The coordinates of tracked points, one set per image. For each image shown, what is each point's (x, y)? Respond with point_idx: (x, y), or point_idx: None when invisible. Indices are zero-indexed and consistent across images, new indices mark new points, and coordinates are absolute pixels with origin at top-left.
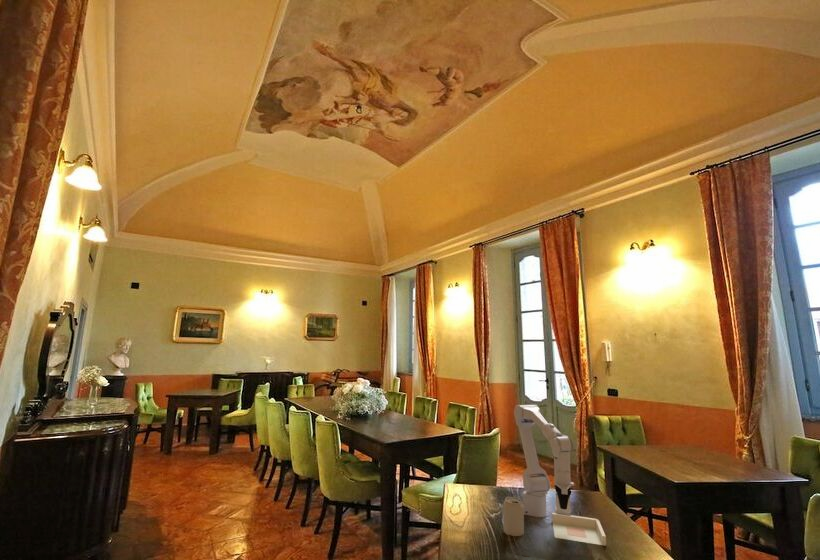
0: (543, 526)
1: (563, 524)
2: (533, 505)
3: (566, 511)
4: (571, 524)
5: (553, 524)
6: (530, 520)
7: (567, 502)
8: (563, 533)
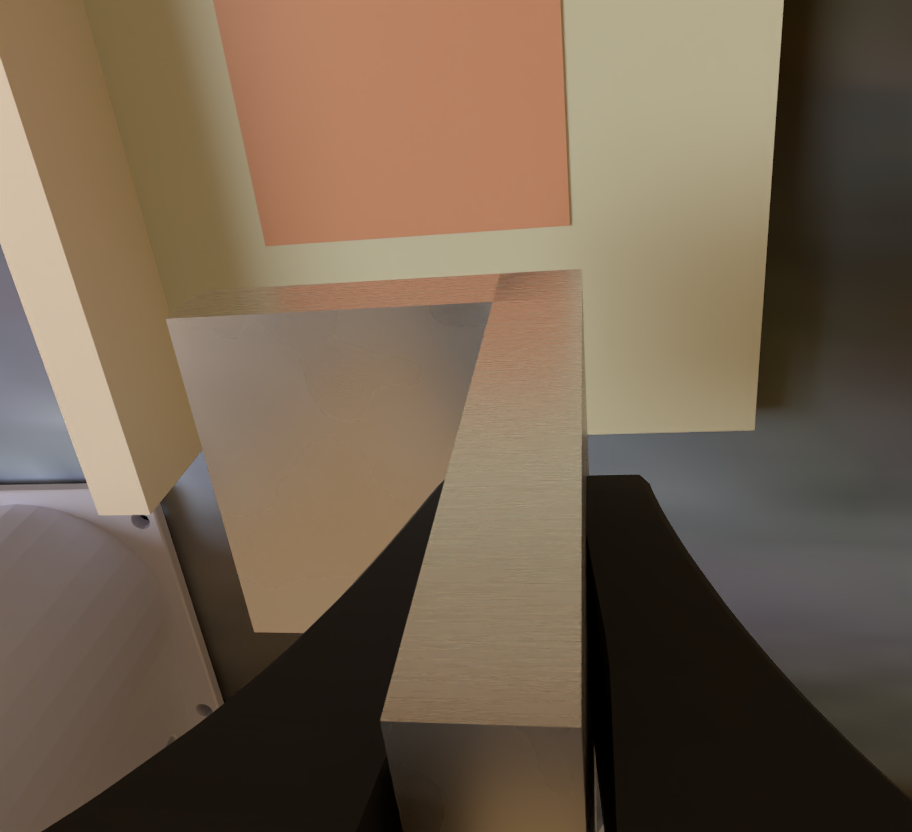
0: None
1: (194, 284)
2: (100, 776)
3: (585, 431)
4: (121, 148)
5: None
6: (255, 665)
7: (736, 620)
8: None
